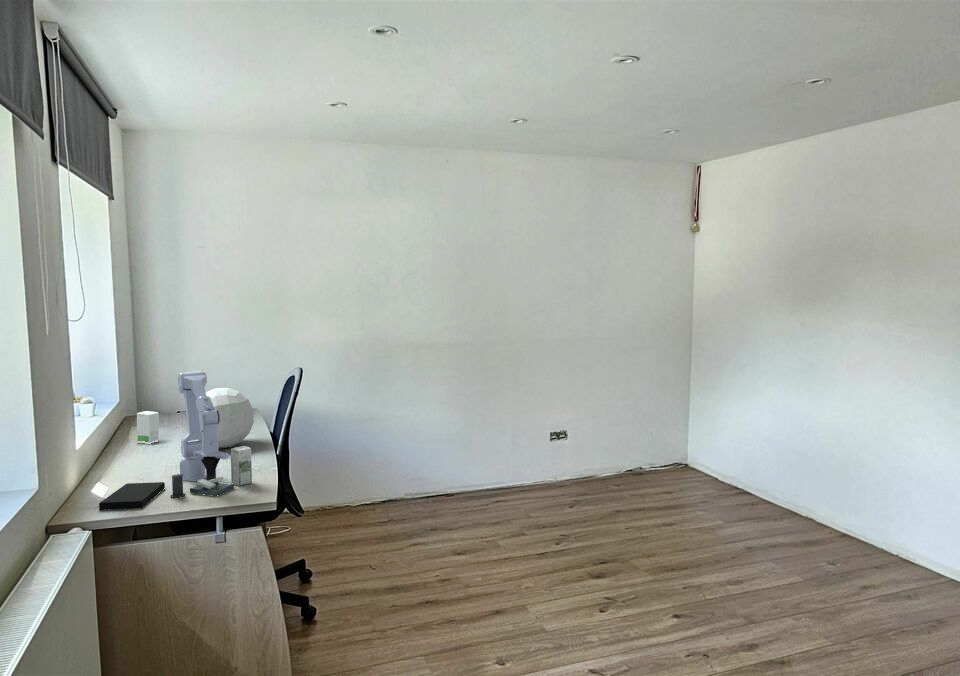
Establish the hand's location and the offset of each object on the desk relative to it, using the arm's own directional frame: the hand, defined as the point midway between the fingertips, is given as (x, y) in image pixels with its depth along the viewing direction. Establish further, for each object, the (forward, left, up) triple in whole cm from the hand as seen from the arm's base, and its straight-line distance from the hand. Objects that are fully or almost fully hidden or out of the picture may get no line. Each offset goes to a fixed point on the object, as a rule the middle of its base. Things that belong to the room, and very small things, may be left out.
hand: (211, 476), depth 250 cm
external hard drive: (-21, -16, -7) cm, 28 cm away
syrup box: (+5, +12, -6) cm, 14 cm away
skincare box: (-86, +56, -6) cm, 102 cm away
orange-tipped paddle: (0, +2, -2) cm, 3 cm away
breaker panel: (0, 0, -6) cm, 6 cm away
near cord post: (-8, -9, -6) cm, 13 cm away
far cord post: (-8, +9, -6) cm, 13 cm away
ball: (-44, +60, -6) cm, 74 cm away
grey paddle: (0, -3, -2) cm, 3 cm away
